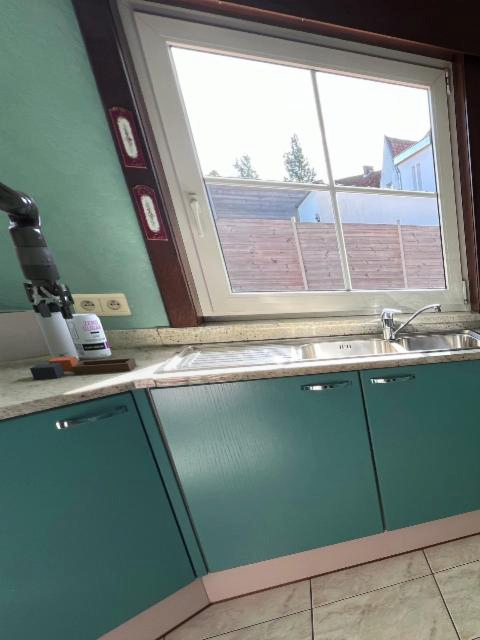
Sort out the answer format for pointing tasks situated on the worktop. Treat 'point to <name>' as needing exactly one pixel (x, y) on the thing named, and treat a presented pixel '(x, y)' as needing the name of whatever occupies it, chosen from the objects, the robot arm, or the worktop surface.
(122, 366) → the tray
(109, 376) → the worktop surface
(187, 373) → the worktop surface
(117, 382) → the worktop surface
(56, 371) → the pad
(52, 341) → the travel mug
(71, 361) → the pad
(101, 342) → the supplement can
